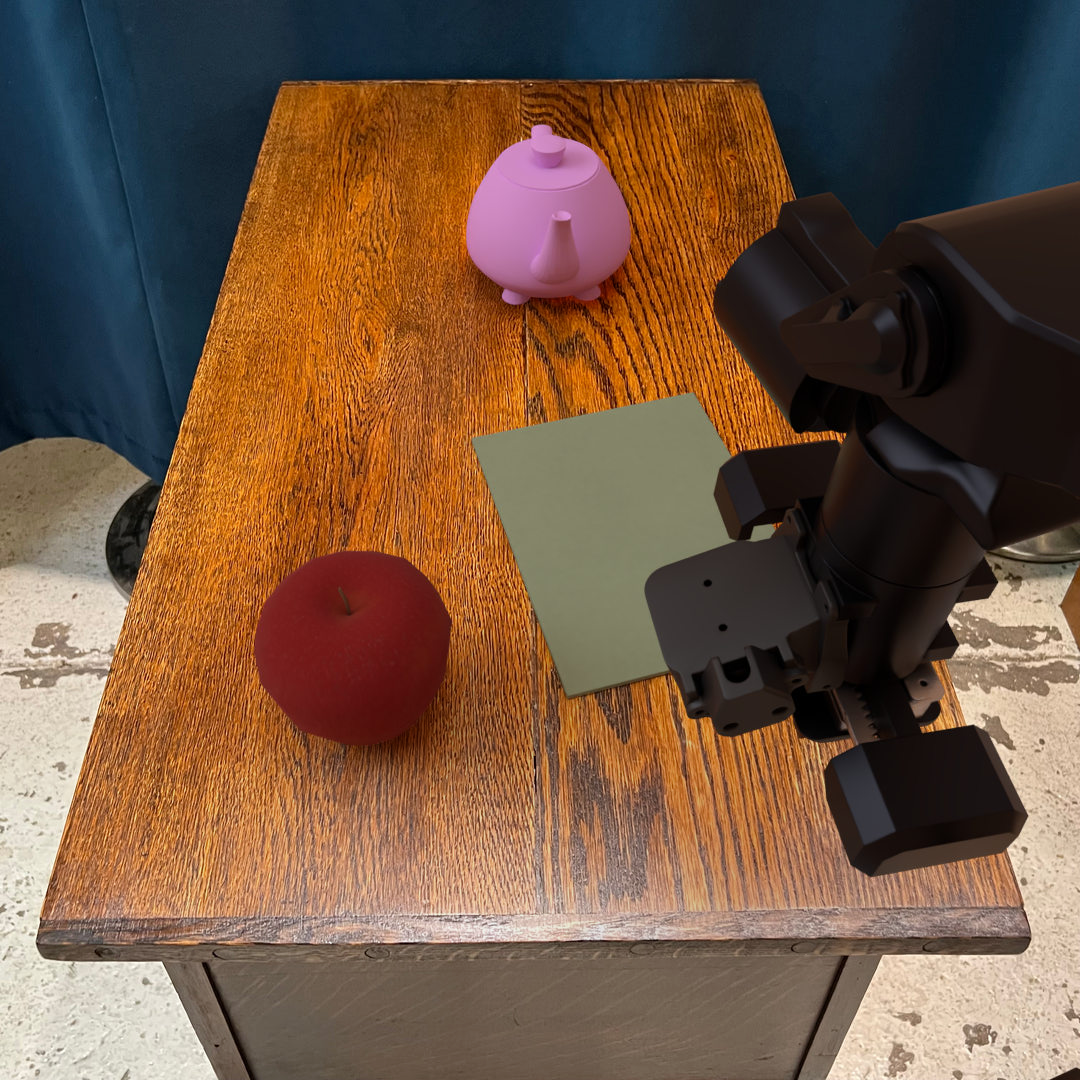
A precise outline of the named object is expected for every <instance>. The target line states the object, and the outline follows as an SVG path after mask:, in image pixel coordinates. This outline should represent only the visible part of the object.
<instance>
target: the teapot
mask: <svg viewBox="0 0 1080 1080" xmlns="http://www.w3.org/2000/svg"><path fill="white" fill-rule="evenodd" d="M530 134H531V138H527V139H524V140H520V141H518V142H516V143H513V144H512V145H510V146H508V147H507V148H506V149H504V150H503V151H502V152H501V153H500V154H499V156H498V157H497V158H496V159H495V160H494V162H493V163H492V165H491V166H490V168H489V169H488V170H487V172H486V174H485V176H484V177H483V179H482V180H481V182H480V184H479V186H478V188H477V190H476V192H475V193H474V196H473V199H472V200H471V201H472V202H471V205H470V207H469V211H468V216H467V221H466V232H465V233H466V235H465V242H466V249H467V252H468V254H469V256H470V258H471V260H472V262H473V264H474V265H475V266H476V267H477V268H478V269H479V270H480V271H481V272H482V273H483V274H484V275H485V276H486V277H487V278H488V279H490V280H491V281H492V282H494V283H495V284H497V286H500V287H501V288H503V291H502V294H501V298H502V300H503V301H504V302H505V303H507V304H510V305H523V304H525V303H527V302H528V301H530V299H531V297H532V298H542V299H556V298H557V299H558V298H565V297H570V296H573V297H574V298H575V299H577V300H580V301H584V302H585V301H586V302H588V301H594V300H596V299H598V298H599V297H600V296H601V292H602V291H601V289H600V287H599V285H600V284H601V283H603V282H604V281H606V280H607V279H608V278H609V277H611V276H612V275H613V274H614V273H615V272H616V271H617V270H618V269H619V268H620V267H621V266H622V264H623V263H624V261H625V260H626V258H627V256H628V254H629V251H630V248H631V241H632V240H631V237H632V233H631V232H632V231H631V224H630V223H631V222H630V215H629V212H628V207H627V204H626V202H625V199H624V197H623V194H622V192H621V189H620V188H619V186H618V184H617V183H616V181H615V179H614V177H613V176H612V174H611V172H610V171H609V170H608V167H607V166H606V165H605V163H604V162H603V160H602V159H601V158H600V157H599V155H598V154H597V153H596V152H595V151H594V150H593V149H592V148H591V147H588V146H587V145H586V144H584V143H582V142H579V141H576V140H574V139H570V138H565V137H561V136H559V135H555V134H553V128H552V127H551V125H547V124H536V125H533V126H532V127H531V133H530Z"/></svg>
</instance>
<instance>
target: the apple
mask: <svg viewBox="0 0 1080 1080" xmlns="http://www.w3.org/2000/svg"><path fill="white" fill-rule="evenodd" d="M263 603H264V604H263V607H262V610H261V613H260V616H259V619H258V622H257V626H256V629H255V639H254V640H255V641H254V648H253V654H254V659H255V663H256V667H257V672H258V677H259V681H260V685H261V686H262V687H263V689H264V690H265V691H266V693H267V694H268V695H269V696H270V697H271V698H272V700H273V701H274V702H275V703H276V705H277V706H278V707H279V708H280V709H281V711H282V712H283V713H284V714H285V715H286V716H287V717H288V718H289V719H290V721H291V722H292V723H293V724H294V725H295V727H296V728H297V729H299V731H300V732H303V733H306V734H309V735H312V736H315V737H318V738H321V739H325V740H328V741H332V742H335V743H339V744H342V745H346V746H369V747H370V746H374V745H378V744H381V743H385V742H388V741H390V740H391V741H392V740H394V739H397V738H398V737H400V736H401V735H402V734H403V733H405V732H407V731H408V730H409V729H411V728H412V727H414V726H415V725H416V724H417V723H418V722H419V720H420V719H421V717H422V716H423V715H424V714H425V712H426V711H427V710H428V708H429V707H430V706H431V703H432V702H433V700H434V698H435V696H436V695H437V693H438V691H439V689H441V686H442V684H443V683H444V681H445V675H446V671H447V665H448V664H447V663H448V658H449V653H450V643H451V636H452V627H453V619H452V617H451V615H450V613H449V611H448V609H447V607H446V605H445V602H444V601H443V599H442V596H441V593H440V592H439V591H438V590H437V589H436V587H435V586H434V584H433V583H432V582H431V580H430V579H429V577H428V576H426V575H425V574H424V573H423V572H422V571H421V570H420V569H418V567H416V566H415V565H414V564H413V563H412V562H410V560H408V559H407V558H406V557H402V556H398V555H395V554H389V553H385V552H381V551H377V550H341V551H340V550H339V551H336V552H332V553H328V554H325V555H320V556H316V557H312V558H310V559H309V560H307V561H306V562H304V563H303V564H301V565H300V566H299V567H297V568H296V569H295V570H294V571H292V572H291V573H289V574H288V575H287V576H285V577H284V578H283V579H282V580H281V582H280V583H278V585H277V586H276V588H275V589H274V590H273V591H272V592H271V594H270V595H268V597H267V598H266V600H265V601H264V602H263Z"/></svg>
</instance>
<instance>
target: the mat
mask: <svg viewBox="0 0 1080 1080" xmlns="http://www.w3.org/2000/svg"><path fill="white" fill-rule="evenodd" d="M470 439H471V444H472V446H473V450H474V451H475V455H476V457H477V460H478V462H479V466H480V468H481V470H482V474H483V476H484V479H485V481H486V484H487V487H488V489H489V492H490V495H491V497H492V501H493V503H494V506H495V508H496V511H497V514H498V517H499V520H500V522H501V525H502V527H503V530H504V532H505V535H506V538H507V541H508V544H509V546H510V549H511V552H512V555H513V557H514V560H515V563H516V565H517V567H518V570H519V573H520V576H521V578H522V581H523V584H524V586H525V589H526V592H527V595H528V598H529V600H530V603H531V605H532V608H533V611H534V614H535V616H536V619H537V622H538V625H539V627H540V631H541V632H542V635H543V638H544V640H545V643H546V646H547V648H548V652H549V655H550V657H551V660H552V663H553V665H554V667H555V670H556V672H557V676H558V679H559V681H560V683H561V686H562V689H563V692H564V695H565V698H566V699H567V700H572V699H575V698H578V697H582V696H586V695H590V694H593V693H598V692H601V691H605V690H610V689H614V688H617V687H621V686H624V685H629V684H633V683H637V682H641V681H644V680H648V679H653V678H656V677H659V676H660V677H661V676H664V675H667V674H671V672H670V670H669V668H668V667H667V665H666V663H665V661H664V658H663V655H662V651H661V648H660V645H659V641H658V638H657V635H656V631H655V628H654V625H653V621H652V618H651V614H650V611H649V608H648V604H647V601H646V598H645V593H644V587H645V583H646V581H647V579H648V577H649V576H650V575H651V574H652V573H653V572H654V571H655V570H657V569H658V568H660V567H663V566H665V565H668V564H671V563H674V562H677V561H680V560H682V559H685V558H688V557H691V556H694V555H697V554H700V553H702V552H705V551H708V550H711V549H714V548H717V547H720V546H723V545H725V544H728V543H731V542H735V540H732V539H730V538H729V536H728V533H727V530H726V528H725V525H724V522H723V520H722V517H721V514H720V512H719V509H718V506H717V503H716V501H715V498H714V495H713V493H714V489H715V485H716V481H717V476H718V472H719V468H720V467H721V466H722V465H723V464H724V463H725V462H726V461H727V460H729V459H730V458H732V457H733V455H731V453H730V451H729V449H728V448H727V446H726V444H725V443H724V441H723V439H722V438H721V436H720V434H719V432H718V431H717V429H716V428H715V426H714V424H713V423H712V421H711V418H709V416H708V414H707V412H706V411H705V410H704V408H703V405H702V404H701V402H700V401H699V399H698V398H697V395H696V394H695V392H693V391H692V392H688V393H683V394H677V395H673V396H669V397H663V398H659V399H653V400H649V401H644V402H643V401H642V402H639V403H635V404H630V405H625V406H620V407H615V408H610V409H605V410H601V411H596V412H590V413H586V414H581V415H576V416H571V417H566V418H562V419H557V420H552V421H546V422H542V423H537V424H533V425H528V426H522V427H517V428H513V429H508V430H503V431H498V432H493V433H490V434H484V435H479V436H474V437H471V438H470ZM775 530H776V529H775V527H774V524H768V525H761V526H754V529H753V532H752V536H751V539H750V540H747V541H753V542H756V541H759V540H763V539H768V538H770V537H771V535H772V534H773V533H774V532H775Z"/></svg>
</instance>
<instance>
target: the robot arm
mask: <svg viewBox="0 0 1080 1080" xmlns="http://www.w3.org/2000/svg"><path fill="white" fill-rule="evenodd" d="M852 217H853V216H851V213H850V212H849V211H848V210H847V208H846V207H845V206H844V205H843V203H842V202H841V201H840V200H839V199H838V198H837V197H836V196H835V195H834V194H833V192H831V191H828V192H824V193H819V194H816V195H815V194H814V195H811V196H806V197H802V198H797V199H793V200H792V199H791V200H789V201H784V202H782V203H781V204H780V208H779V212H778V217H777V219H776V220H777V221H776V225H775V227H774V228H772V229H770V230H768V231H767V232H766V233H764V234H762V235H761V236H759V237H758V238H756V239H755V240H753V242H752V243H751V244H750V245H749V246H747V247H746V248H745V249H744V250H743V251H742V252H741V253H740V254H739V255H738V256H737V258H736V259H735V260H734V262H733V263H732V264H731V266H730V267H728V269H727V271H726V272H725V275H724V277H723V278H721V279H720V280H719V281H717V283H716V285H715V288H714V293H713V298H712V299H713V301H712V303H713V305H712V306H713V307H712V311H713V314H714V317H715V321H716V322H717V324H718V325H719V326H720V328H721V330H722V332H724V334H725V335H726V337H727V338H728V339H729V341H730V342H731V344H732V346H734V348H735V350H736V351H737V353H738V354H739V355H740V356H741V358H742V359H743V361H744V362H745V364H746V365H747V366H748V368H749V369H750V370H751V372H752V373H753V375H754V376H755V378H756V379H757V381H758V382H759V383H760V385H761V386H762V388H763V389H764V390H765V392H766V393H767V395H768V396H769V398H770V399H771V400H772V402H773V403H774V404H775V406H776V408H777V410H779V412H780V413H781V415H782V416H783V417H784V419H785V420H786V422H787V423H788V424H789V426H790V427H791V429H792V430H793V431H794V433H795V434H797V435H801V434H803V433H805V432H806V433H813V434H815V433H825V432H834V433H837V434H845V436H844V438H843V441H842V442H841V441H839V440H838V439H819V440H813V441H804V442H797V443H789V444H782V445H774V446H773V445H772V446H766V447H758V448H757V447H756V448H750V449H743V450H740V451H739V452H737V453H735V455H732V458H730V459H729V460H727V461H726V462H725V463H724V464H723V465H722V466H721V467H720V468H719V472H718V476H717V481H716V485H715V489H714V493H713V495H714V498H715V501H716V503H717V506H718V509H719V512H720V514H721V517H722V520H723V522H724V525H725V528H726V530H727V533H728V536H729V538H730V539H732V540H735V542H731V543H728V544H725V545H723V546H720V547H717V548H714V549H711V550H708V551H705V552H702V553H700V554H697V555H694V556H691V557H688V558H685V559H682V560H680V561H677V562H674V563H671V564H668V565H665V566H663V567H660V568H658V569H657V570H655V571H654V572H653V573H652V574H651V575H650V576H649V577H648V579H647V581H646V583H645V587H644V593H645V598H646V601H647V604H648V608H649V611H650V614H651V618H652V621H653V625H654V628H655V631H656V635H657V638H658V641H659V645H660V648H661V651H662V655H663V658H664V661H665V663H666V665H667V667H668V668H669V670H670V672H671V673H670V674H671V676H672V678H673V680H674V683H675V685H676V686H677V688H678V690H679V693H680V696H681V699H682V702H683V706H684V710H685V714H686V717H687V718H688V719H690V720H701V719H705V718H708V719H711V722H712V725H713V727H714V729H715V731H716V733H717V734H718V736H721V737H725V738H735V737H739V736H742V735H745V734H748V733H751V732H755V731H757V730H761V729H763V728H764V729H765V728H767V727H770V726H772V725H775V724H779V723H782V722H785V721H787V720H788V719H789V718H790V717H791V719H792V724H793V727H794V729H795V732H796V735H797V738H798V739H806V740H808V741H811V742H813V743H819V744H827V743H828V744H829V743H834V742H839V741H840V742H841V741H845V740H851V742H852V744H853V746H852V747H850V748H848V749H847V750H844V751H842V752H841V753H839V754H837V755H835V756H833V757H831V758H830V759H829V761H828V763H827V764H826V767H825V768H824V770H823V778H824V790H825V791H824V792H825V800H826V803H827V806H828V808H829V812H830V814H831V817H832V820H833V822H834V825H835V827H836V830H837V833H838V835H839V838H840V840H841V843H842V847H843V849H844V852H845V854H846V857H847V859H848V862H849V865H850V866H851V867H853V868H854V869H856V870H857V871H859V872H861V873H863V874H864V875H865V876H868V877H869V878H876V877H882V876H888V875H892V874H898V873H902V872H907V871H912V870H919V869H924V868H931V867H935V866H940V865H946V864H952V863H956V862H957V863H958V862H963V861H968V860H973V859H978V858H984V857H990V856H994V855H1001V854H1003V853H1004V852H1005V851H1006V850H1007V849H1008V848H1009V847H1010V846H1011V845H1012V844H1013V843H1014V842H1015V841H1016V839H1018V838H1019V836H1020V834H1021V832H1022V830H1023V829H1024V826H1025V825H1026V822H1027V820H1028V818H1029V813H1028V812H1027V810H1026V807H1025V805H1024V803H1023V801H1022V799H1021V797H1020V795H1019V793H1018V791H1017V788H1016V787H1015V785H1014V782H1013V780H1012V779H1011V777H1010V774H1009V773H1008V771H1007V768H1006V767H1005V764H1004V762H1003V760H1002V758H1001V756H1000V754H999V752H998V750H997V748H996V746H995V743H994V742H993V739H992V738H991V735H990V734H989V732H988V731H987V730H985V729H983V728H981V727H980V726H977V725H976V724H968V725H962V726H956V727H950V728H944V729H938V730H933V731H927V732H923V730H922V729H921V728H922V727H928V726H931V725H932V724H933V723H934V722H936V720H937V719H938V718H939V717H940V715H941V712H942V708H941V703H940V701H941V700H942V699H943V697H944V696H945V695H946V689H945V687H944V685H943V684H942V681H941V679H940V676H939V675H938V673H937V671H936V668H935V666H934V664H933V663H934V662H939V661H945V660H951V659H952V658H953V656H954V655H955V653H956V652H957V650H958V648H959V647H960V642H959V641H958V638H957V637H956V635H955V633H954V630H953V628H952V627H951V624H950V623H949V620H948V618H949V617H950V615H951V613H952V611H953V610H954V608H955V606H956V604H962V603H963V604H964V603H971V602H976V601H982V600H989V599H990V597H991V596H992V594H993V592H994V591H995V590H996V587H997V586H998V584H999V583H1000V582H999V579H998V578H997V577H996V575H995V572H994V571H993V569H992V567H991V565H990V563H989V562H988V559H987V558H986V556H985V555H986V553H987V552H994V551H997V550H1001V549H1003V548H1007V547H1010V546H1013V545H1015V544H1019V543H1022V542H1025V541H1028V540H1031V539H1034V538H1037V537H1041V536H1043V535H1047V534H1050V533H1053V532H1055V531H1059V530H1062V529H1065V528H1068V527H1071V526H1074V525H1078V524H1080V180H1078V181H1074V182H1070V183H1066V184H1061V185H1057V186H1053V187H1049V188H1044V189H1040V190H1036V191H1032V192H1027V193H1022V194H1018V195H1014V196H1010V197H1006V198H1002V199H997V200H993V201H988V202H984V203H980V204H976V205H971V206H966V207H963V208H959V209H954V210H950V211H946V212H941V213H938V214H934V215H929V216H928V215H927V216H925V217H920V218H915V219H911V220H908V221H907V220H906V221H903V222H900V223H899V224H898V225H897V227H895V228H894V229H892V230H891V231H889V232H888V233H887V234H886V235H885V236H884V238H883V239H882V241H881V242H880V244H879V245H878V247H877V248H876V247H875V246H874V245H873V243H871V241H870V240H869V239H868V238H867V237H866V236H865V235H864V234H863V232H862V231H861V230H860V229H859V228H858V226H857V225H856V223H855V221H854V220H853V218H852ZM768 524H772V525H775V524H779V526H778V527H777V528H776V529H775V532H774V533H773V534H772V535H771V537H770V538H768V539H763V540H759V541H756V542H753V541H747V540H750V539H751V536H752V532H753V529H754V526H761V525H768ZM1049 1080H1080V1068H1079V1067H1077V1066H1076V1067H1073V1068H1071V1069H1068V1070H1067V1071H1065V1072H1063V1073H1062V1072H1061V1074H1058V1075H1056V1076H1053V1077H1052V1078H1050V1079H1049Z"/></svg>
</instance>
